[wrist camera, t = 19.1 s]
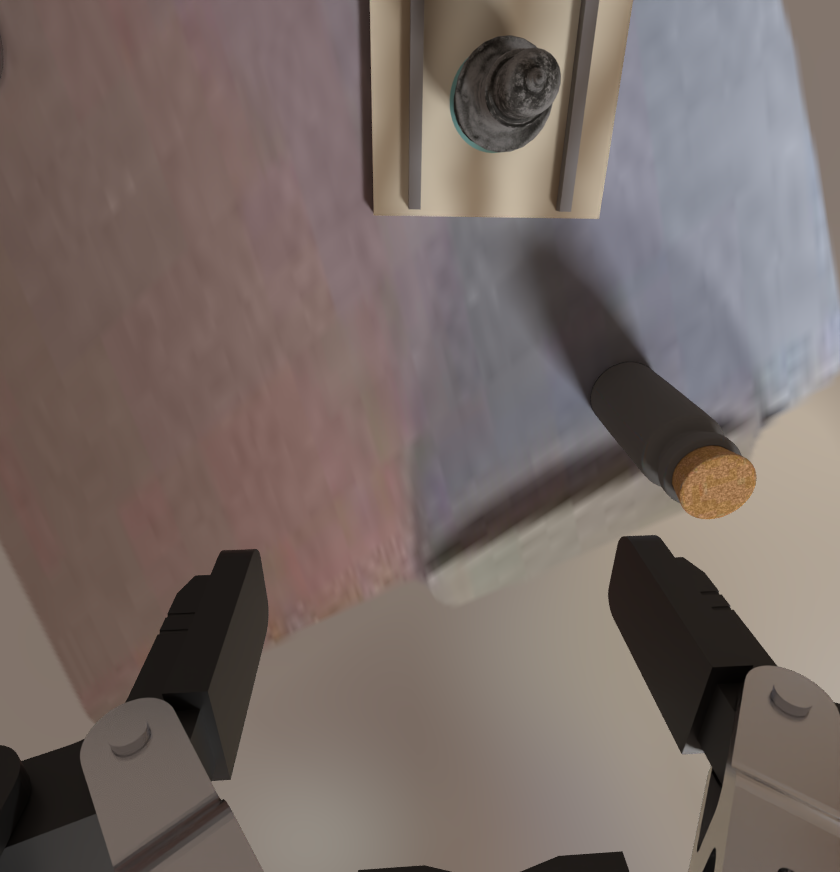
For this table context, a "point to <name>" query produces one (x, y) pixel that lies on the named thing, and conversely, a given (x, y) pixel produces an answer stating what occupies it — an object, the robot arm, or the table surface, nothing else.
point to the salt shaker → (505, 93)
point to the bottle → (673, 441)
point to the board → (437, 126)
